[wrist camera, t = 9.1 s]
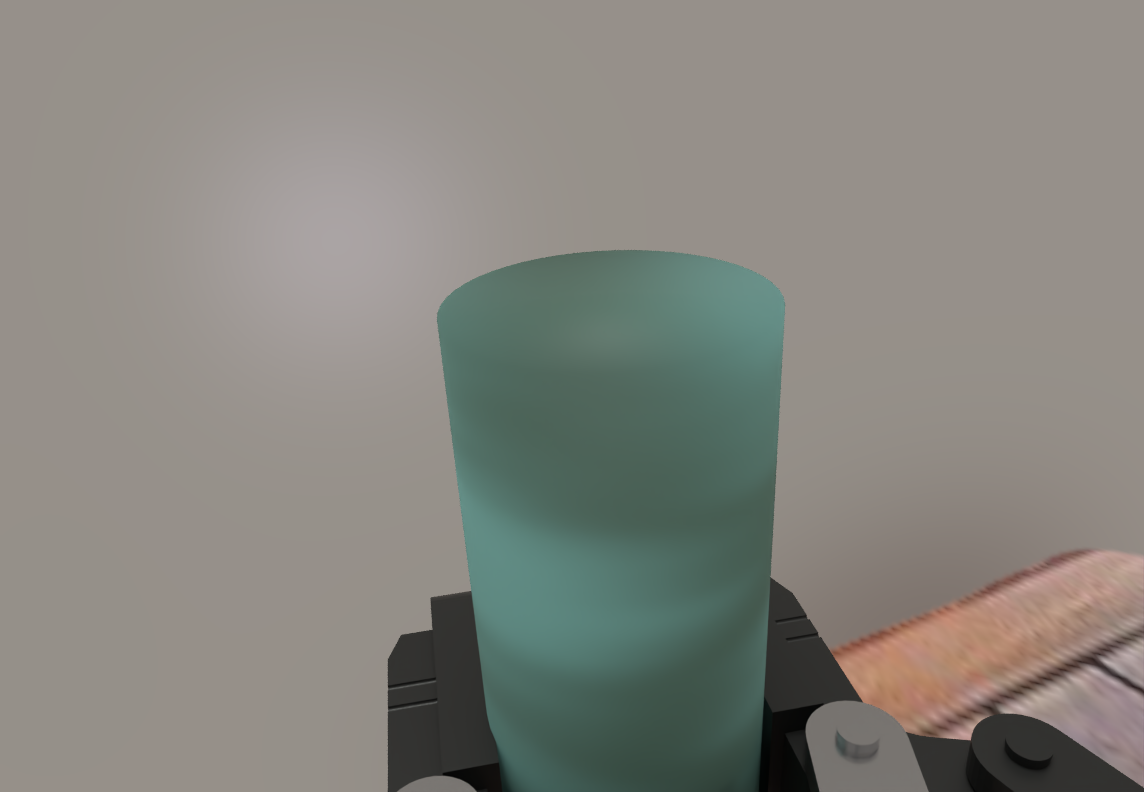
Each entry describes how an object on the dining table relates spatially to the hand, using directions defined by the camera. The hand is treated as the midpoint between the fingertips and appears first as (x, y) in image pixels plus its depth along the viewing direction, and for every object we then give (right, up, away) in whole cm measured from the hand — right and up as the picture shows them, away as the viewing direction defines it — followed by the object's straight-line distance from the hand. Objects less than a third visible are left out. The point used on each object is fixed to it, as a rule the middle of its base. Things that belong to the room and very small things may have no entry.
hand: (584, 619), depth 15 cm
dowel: (+1, -10, +2) cm, 10 cm away
